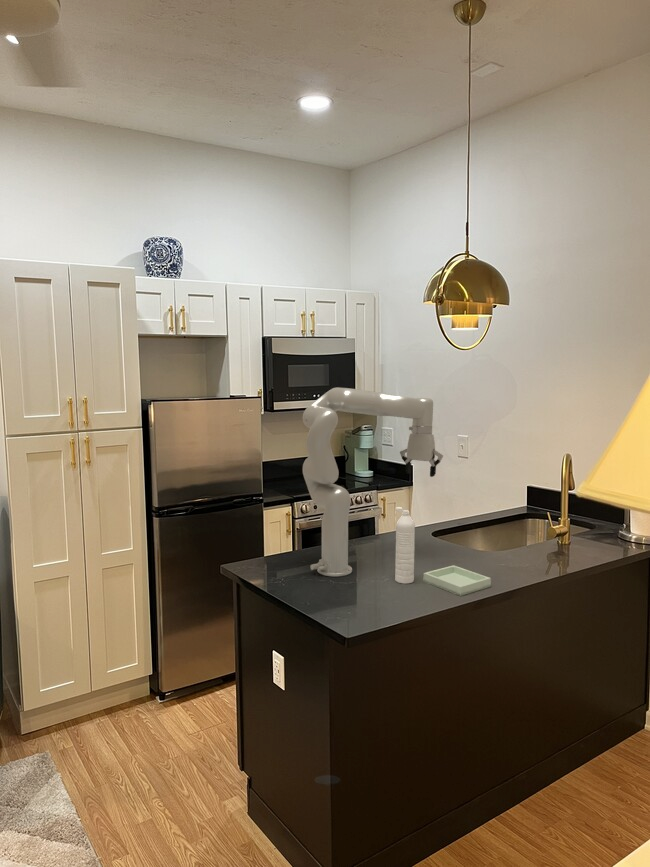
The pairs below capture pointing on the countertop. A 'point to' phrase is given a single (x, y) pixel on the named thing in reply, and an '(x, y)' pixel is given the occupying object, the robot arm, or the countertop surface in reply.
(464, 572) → the tray
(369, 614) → the countertop surface
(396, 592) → the countertop surface
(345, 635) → the countertop surface
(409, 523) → the water bottle
